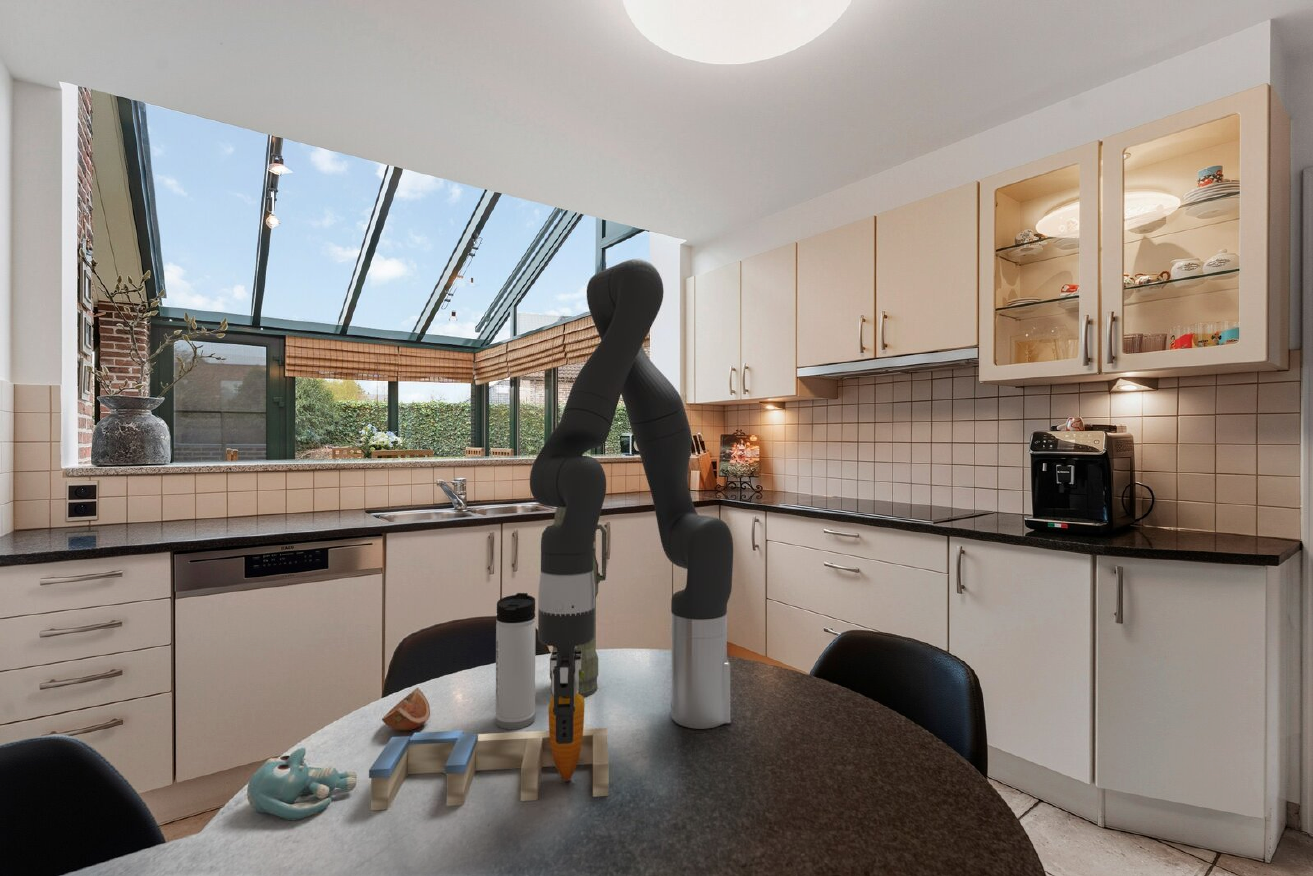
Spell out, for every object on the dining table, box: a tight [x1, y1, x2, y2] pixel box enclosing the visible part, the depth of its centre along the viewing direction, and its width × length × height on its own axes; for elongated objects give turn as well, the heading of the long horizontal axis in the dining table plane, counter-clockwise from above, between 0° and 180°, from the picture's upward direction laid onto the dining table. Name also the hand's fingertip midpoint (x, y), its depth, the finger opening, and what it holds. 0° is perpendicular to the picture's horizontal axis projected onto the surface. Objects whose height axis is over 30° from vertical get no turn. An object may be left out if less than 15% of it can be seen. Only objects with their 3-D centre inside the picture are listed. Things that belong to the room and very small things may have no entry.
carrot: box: [548, 671, 585, 783], centre depth 79 cm, size 5×5×15 cm
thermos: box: [541, 507, 607, 698], centre depth 110 cm, size 9×12×35 cm
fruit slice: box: [381, 687, 431, 731], centre depth 94 cm, size 8×7×5 cm
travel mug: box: [495, 592, 536, 730], centre depth 97 cm, size 6×7×20 cm
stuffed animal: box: [246, 747, 358, 821], centre depth 75 cm, size 11×7×12 cm
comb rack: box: [368, 727, 610, 811], centre depth 79 cm, size 29×10×5 cm, turn 96°
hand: (565, 728), depth 79 cm, fingers open, 7 cm apart
